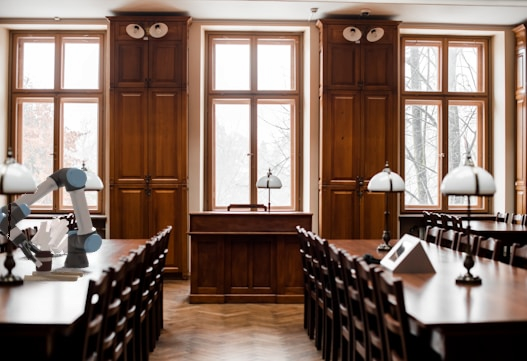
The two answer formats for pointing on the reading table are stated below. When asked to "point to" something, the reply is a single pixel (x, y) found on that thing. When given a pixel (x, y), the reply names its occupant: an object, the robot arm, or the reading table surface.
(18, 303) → the reading table surface
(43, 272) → the coffee cup
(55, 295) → the reading table surface
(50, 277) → the beech guide rails
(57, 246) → the white jagged sculpture
